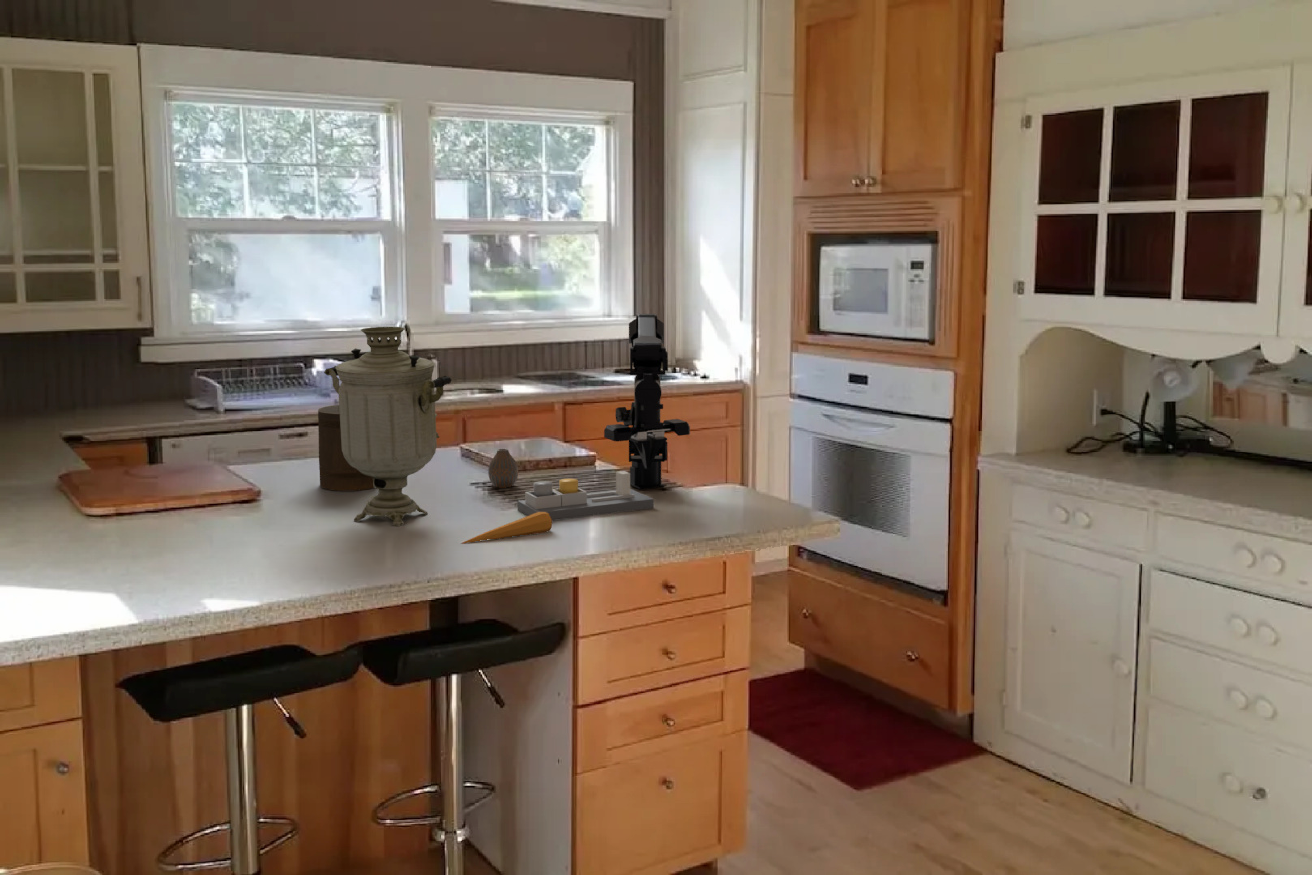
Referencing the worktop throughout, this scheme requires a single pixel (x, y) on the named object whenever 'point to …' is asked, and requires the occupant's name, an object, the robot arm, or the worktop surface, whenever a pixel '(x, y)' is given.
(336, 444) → the wooden container
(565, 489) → the amber button
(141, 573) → the worktop surface
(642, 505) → the panel
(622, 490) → the slider paddle
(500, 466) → the vase
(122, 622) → the worktop surface
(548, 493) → the grey button
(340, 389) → the samovar
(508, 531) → the carrot
